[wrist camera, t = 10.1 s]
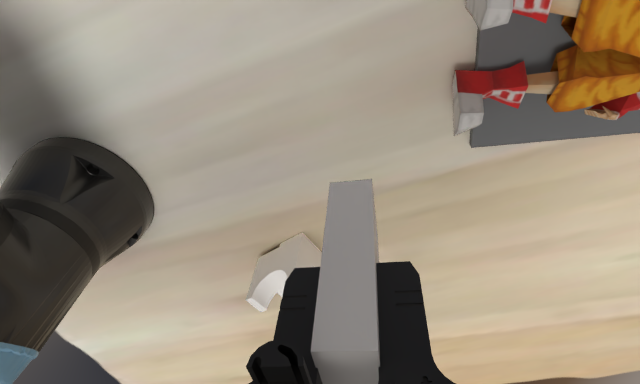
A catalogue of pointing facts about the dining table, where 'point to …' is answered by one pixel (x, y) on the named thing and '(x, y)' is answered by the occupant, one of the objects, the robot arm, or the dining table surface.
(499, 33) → the mat
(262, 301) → the bracket
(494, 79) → the toy
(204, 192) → the dining table surface
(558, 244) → the dining table surface
